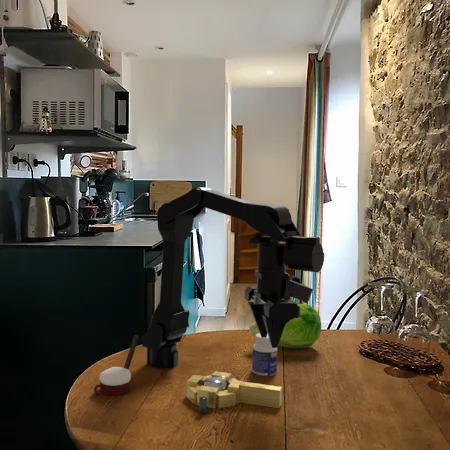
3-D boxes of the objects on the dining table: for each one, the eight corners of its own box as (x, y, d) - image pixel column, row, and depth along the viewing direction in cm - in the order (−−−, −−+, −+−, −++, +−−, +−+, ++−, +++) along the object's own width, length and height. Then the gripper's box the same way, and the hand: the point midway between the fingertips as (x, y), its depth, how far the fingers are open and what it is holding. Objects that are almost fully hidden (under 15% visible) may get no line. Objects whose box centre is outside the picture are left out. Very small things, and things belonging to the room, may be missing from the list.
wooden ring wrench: (179, 402, 104) (180, 385, 103) (199, 383, 114) (199, 367, 114) (274, 417, 98) (275, 399, 98) (285, 396, 108) (286, 379, 108)
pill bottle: (275, 383, 119) (276, 339, 119) (250, 380, 120) (251, 337, 120) (277, 374, 125) (279, 332, 124) (253, 372, 126) (254, 330, 125)
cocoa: (94, 406, 105) (92, 348, 104) (93, 393, 111) (91, 338, 110) (142, 400, 108) (141, 343, 106) (139, 387, 114) (137, 333, 112)
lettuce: (241, 342, 150) (242, 300, 149) (308, 339, 155) (309, 298, 154) (257, 358, 136) (258, 312, 135) (329, 353, 141) (330, 309, 141)
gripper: (327, 274, 101) (324, 354, 102) (293, 260, 119) (290, 328, 120) (271, 274, 98) (268, 357, 99) (244, 260, 116) (242, 330, 117)
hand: (269, 342), depth 109 cm, fingers open, 7 cm apart
